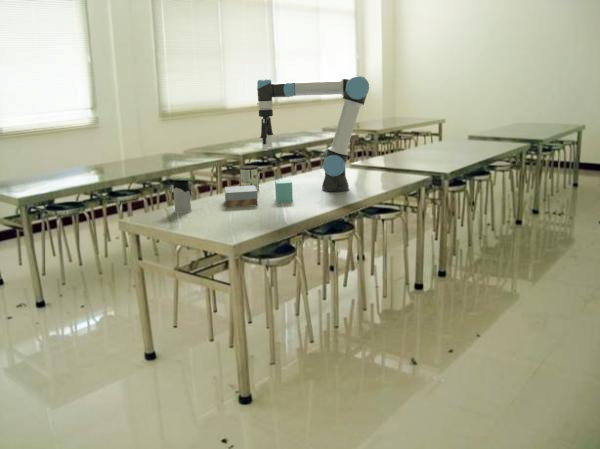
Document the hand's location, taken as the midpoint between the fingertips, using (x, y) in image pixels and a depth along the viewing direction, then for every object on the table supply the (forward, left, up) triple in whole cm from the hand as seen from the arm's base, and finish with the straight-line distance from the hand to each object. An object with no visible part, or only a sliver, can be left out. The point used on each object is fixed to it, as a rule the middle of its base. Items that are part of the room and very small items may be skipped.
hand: (267, 148), depth 321 cm
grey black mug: (+20, +47, -26) cm, 58 cm away
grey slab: (+3, +23, -22) cm, 32 cm away
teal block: (-15, +9, -26) cm, 31 cm away
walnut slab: (+3, +23, -26) cm, 35 cm away
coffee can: (+17, -7, -26) cm, 32 cm away
